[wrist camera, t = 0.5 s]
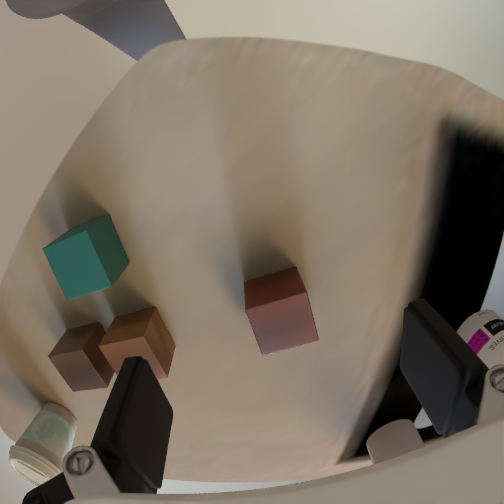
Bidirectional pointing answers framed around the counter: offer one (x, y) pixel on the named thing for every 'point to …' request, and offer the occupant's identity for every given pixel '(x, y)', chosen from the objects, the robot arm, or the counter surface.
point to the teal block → (87, 257)
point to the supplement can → (485, 336)
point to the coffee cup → (44, 444)
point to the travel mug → (393, 440)
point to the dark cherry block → (279, 311)
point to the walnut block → (82, 358)
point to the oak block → (139, 341)
